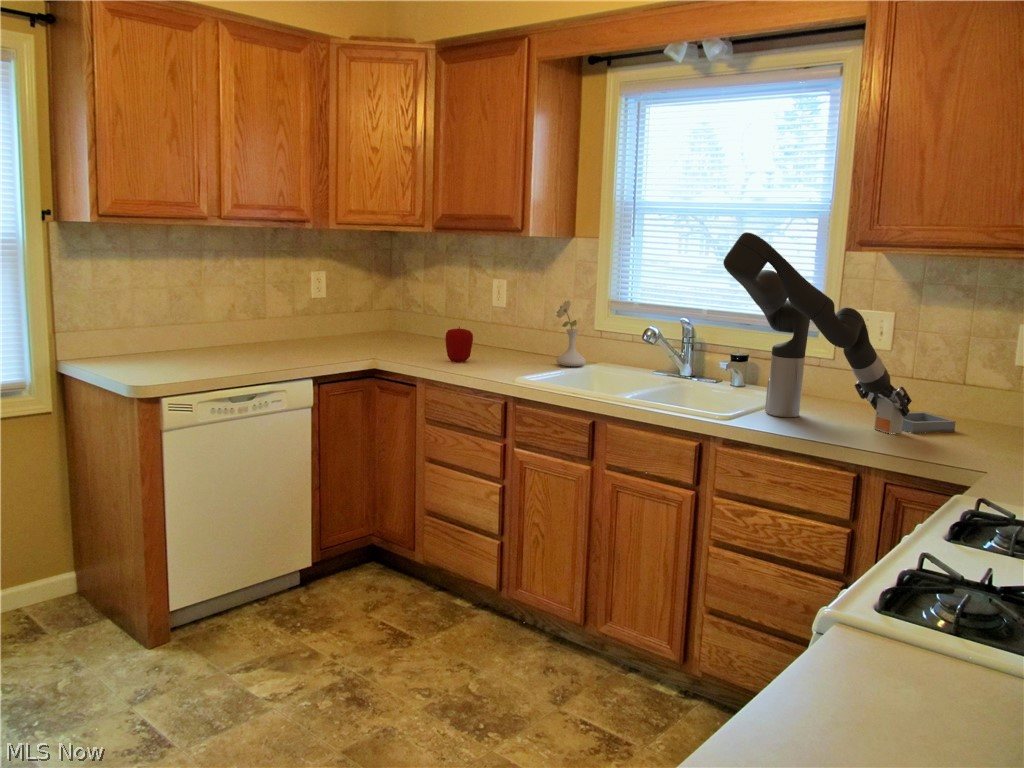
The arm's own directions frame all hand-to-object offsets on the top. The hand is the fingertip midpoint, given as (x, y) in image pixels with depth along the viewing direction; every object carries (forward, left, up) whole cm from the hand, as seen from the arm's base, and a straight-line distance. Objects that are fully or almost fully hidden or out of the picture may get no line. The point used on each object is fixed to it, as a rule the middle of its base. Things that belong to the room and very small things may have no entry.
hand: (892, 410), depth 238 cm
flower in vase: (-114, -51, -6) cm, 125 cm away
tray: (-3, +12, -6) cm, 14 cm away
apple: (-127, -91, -6) cm, 156 cm away
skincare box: (0, -1, -6) cm, 6 cm away
